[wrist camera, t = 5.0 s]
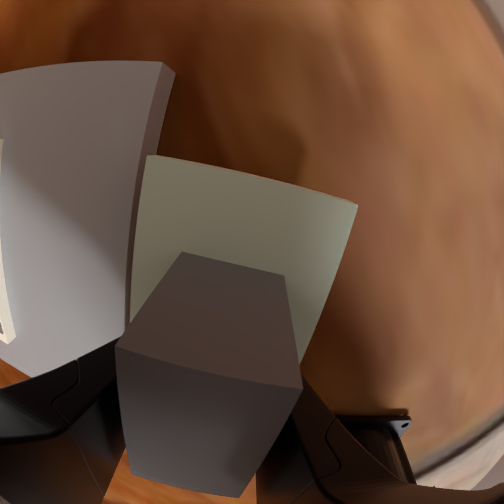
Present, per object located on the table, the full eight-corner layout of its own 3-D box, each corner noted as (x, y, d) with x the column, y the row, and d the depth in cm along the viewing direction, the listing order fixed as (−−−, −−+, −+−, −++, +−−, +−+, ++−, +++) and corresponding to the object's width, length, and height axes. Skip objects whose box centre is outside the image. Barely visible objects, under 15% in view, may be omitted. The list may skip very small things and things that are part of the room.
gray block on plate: (350, 200, 8) (451, 263, 3) (266, 420, 12) (266, 521, 7) (156, 154, 8) (37, 166, 3) (137, 390, 11) (97, 484, 6)
